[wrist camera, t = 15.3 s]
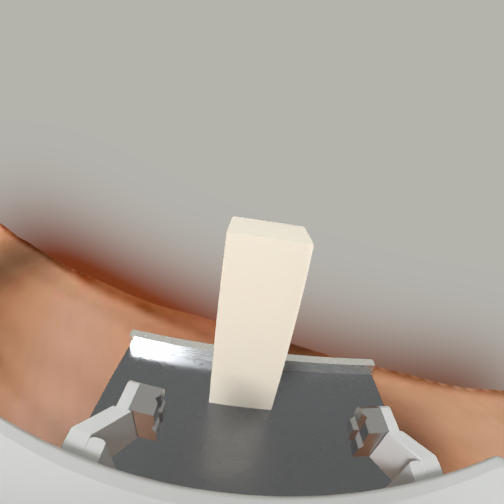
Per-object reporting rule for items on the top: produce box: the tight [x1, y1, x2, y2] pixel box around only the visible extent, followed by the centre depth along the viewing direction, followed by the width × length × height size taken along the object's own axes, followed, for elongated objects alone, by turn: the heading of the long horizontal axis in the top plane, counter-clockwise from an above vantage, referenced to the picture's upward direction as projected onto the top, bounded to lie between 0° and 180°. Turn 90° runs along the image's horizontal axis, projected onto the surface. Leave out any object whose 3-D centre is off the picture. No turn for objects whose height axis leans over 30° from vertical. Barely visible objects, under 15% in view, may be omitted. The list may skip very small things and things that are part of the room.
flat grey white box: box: [90, 329, 392, 496], centre depth 20 cm, size 24×17×5 cm
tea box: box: [209, 216, 314, 410], centre depth 21 cm, size 4×5×14 cm
